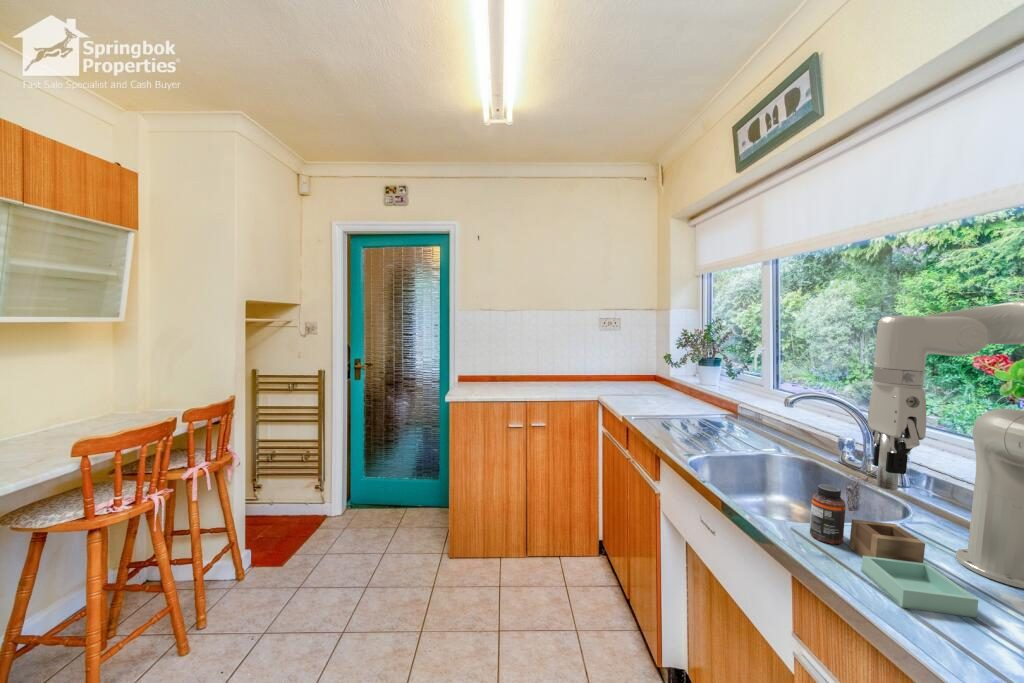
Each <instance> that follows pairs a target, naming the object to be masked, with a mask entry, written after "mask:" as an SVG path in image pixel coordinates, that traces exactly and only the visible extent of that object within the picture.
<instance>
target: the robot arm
mask: <svg viewBox="0 0 1024 683" xmlns="http://www.w3.org/2000/svg"><path fill="white" fill-rule="evenodd" d="M987 345H1024V299H1020V300H1013V301H1007V302H1003V303H1002V302H1001V303H996V304H991V305H985V306H984V305H983V306H979V307H971V308H966V309H965V308H964V309H958V310H951V311H945V312H940V313H934V314H928V315H922V316H918V315H885V316H882V317H880V319H879V320H878V322H877V329H876V338H875V348H874V349H875V351H874V360H873V361H874V362H873V372H872V382H871V383H872V388H871V393H870V398H869V402H868V403H869V404H868V411H867V425H868V429H869V431H870V432H871V434H872V435H871V436H873V441H872V442H873V443H872V444H873V445H874V449H873V450H874V451H873V460H872V465H874V466H876V467H878V460H879V449H880V439H881V433H884V434H886V435H888V436H890V452H887V459H886V469H885V470H886V472H888V473H896V474H899V475H906V474H907V468H908V457H909V455H911V451H912V450H913V449H914V448H917V447H919V446H920V441H923V440H924V439H925V437H926V432H927V399H926V392H925V388H924V384H925V383H924V381H925V373H926V371H925V370H926V363H927V362H926V360H927V355H929V354H930V355H940V356H949V357H950V356H951V357H965V356H970V355H974V354H976V353H978V352H981V351H982V350H983V349H985V348H986V347H987ZM902 434H903V435H902ZM900 436H902V437H900ZM972 439H973V440H972V441H973V444H974V450H975V452H974V453H975V478H974V486H973V493H972V494H973V496H972V504H971V516H970V523H969V531H968V532H969V533H968V542H967V548H962V549H959V550H957V551H956V552H955V559H956V561H957V562H958V563H959V564H961V565H962V566H963V567H965V568H967V569H968V570H970V571H972V572H974V573H976V574H977V575H980V576H983V577H985V578H988V579H991V580H993V581H995V582H998V583H1002V584H1004V585H1005V584H1006V585H1008V586H1012V587H1015V588H1019V589H1024V410H1021V409H1015V408H996V409H992V410H989V411H986V412H984V413H982V414H981V415H980V416H978V418H977V419H976V420H975V422H974V424H973V429H972ZM897 440H899V441H902V442H900V443H898V444H897Z"/></svg>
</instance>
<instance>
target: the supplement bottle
mask: <svg viewBox="0 0 1024 683" xmlns="http://www.w3.org/2000/svg"><path fill="white" fill-rule="evenodd" d="M841 493H842V490H841V489H840V488H839V487H837V486H834V485H830V484H819V485H818V486H817V492H815V493H814V494H813V495H812V498H811V507H810V508H811V509H810V521H809V534H810V536H811V537H813V538H814V539H816V540H817V541H820V542H822V543H827V544H831V545H837V544H838V545H839V544H842V543H843V541H844V531H845V519H846V502H845V501H844V499H843V498H842V497H841V496H842V494H841Z"/></svg>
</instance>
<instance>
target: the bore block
mask: <svg viewBox="0 0 1024 683" xmlns="http://www.w3.org/2000/svg"><path fill="white" fill-rule="evenodd" d="M850 523H851V524H850V525H851V526H850V527H851V528H850V535H849V536H850V538H849V549H850V550H852V551H853V552H854V553H856V554H857V555H858V556H859V557H861V558H862V556H869V557H877V558H886V559H894V560H902V561H911V562H919V563H924V560H925V548H926V543H925V542H923V541H922V540H921V539H919V538H918V537H916V536H914V535H913V534H911V533H910V532H908V531H907V530H906V529H903V527H901V526H900V525H897V524H896V523H888V522H883V521H882V522H879V521H871V520H862V519H853V518H852V519H851V522H850Z"/></svg>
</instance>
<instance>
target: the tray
mask: <svg viewBox="0 0 1024 683" xmlns="http://www.w3.org/2000/svg"><path fill="white" fill-rule="evenodd" d="M860 571H861V573H862V574H863V575H865V576H866V577H867V578H868V579H869V580H870V581H872V582H873V584H875V585H876V586H877V587H878V588H879V589H880V590H882V591H883V592H884V593H885V594H886V595H888V597H889V598H891V600H892V601H894V602H895V603H896V604H897V605H898V606H900V608H903V609H910V610H916V611H924V612H931V613H938V614H939V613H940V614H944V615H945V614H946V615H954V616H961V617H968V618H969V617H970V618H977V616H978V608H979V607H978V606H979V599H978V598H977V597H975V596H974V595H973V594H971V593H969V592H968V591H966V590H965V589H964V588H962V587H961V586H960V585H958V584H957V583H955V582H954V581H952V580H951V579H949V578H948V577H947V576H945V575H944V574H942V573H941V572H939V571H938V570H937V569H935V568H934V567H932V566H931V565H929V564H928V563H924V562H923V563H919V562H911V561H902V560H894V559H886V558H877V557H869V556H862V557H861V570H860Z"/></svg>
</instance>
